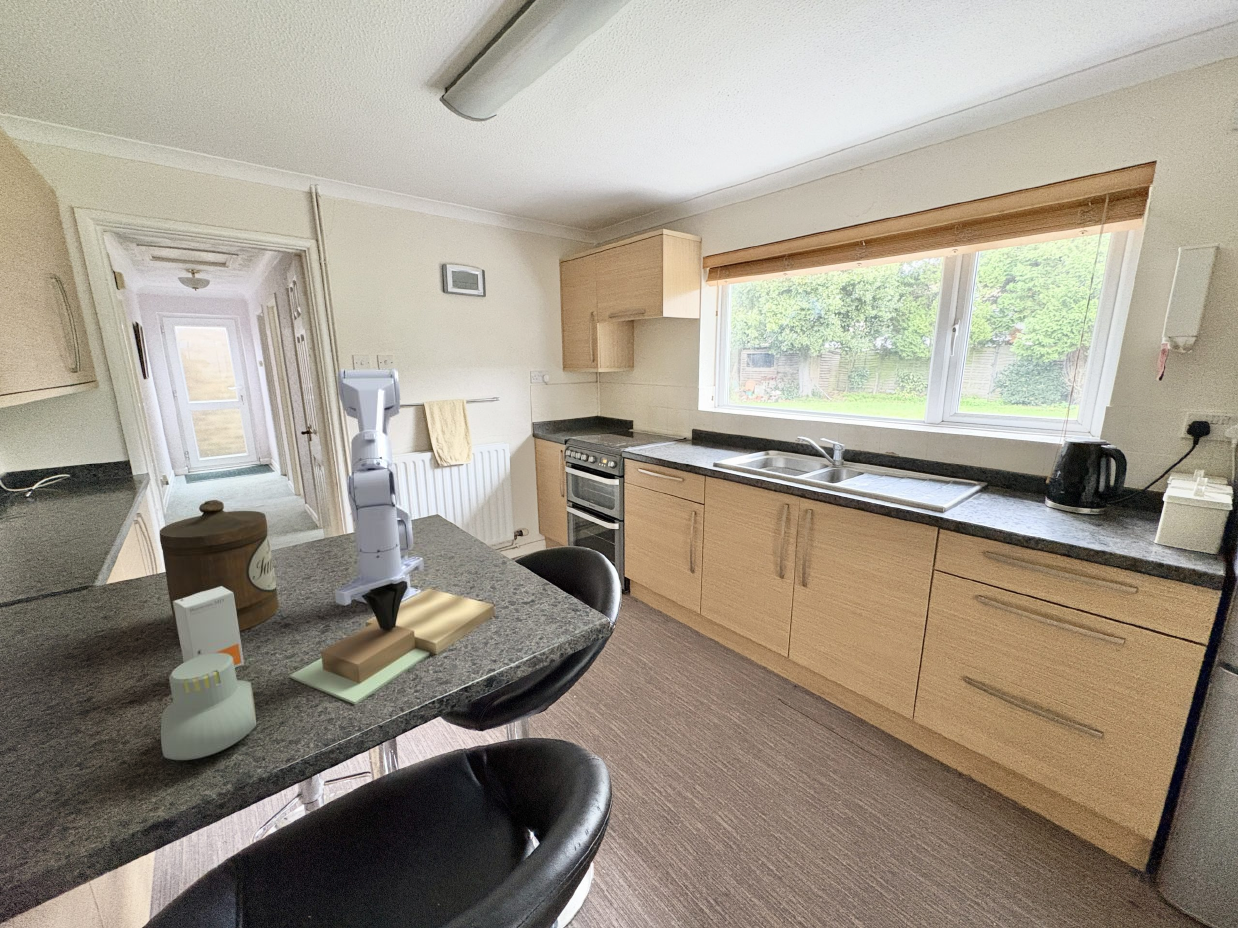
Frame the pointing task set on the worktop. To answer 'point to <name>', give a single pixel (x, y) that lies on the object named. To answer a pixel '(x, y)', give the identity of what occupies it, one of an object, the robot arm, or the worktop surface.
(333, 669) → the walnut tile
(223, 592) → the skincare box
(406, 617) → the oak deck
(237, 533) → the wooden container
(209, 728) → the air freshener
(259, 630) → the worktop surface
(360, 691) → the sage mat
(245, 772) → the worktop surface
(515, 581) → the worktop surface
